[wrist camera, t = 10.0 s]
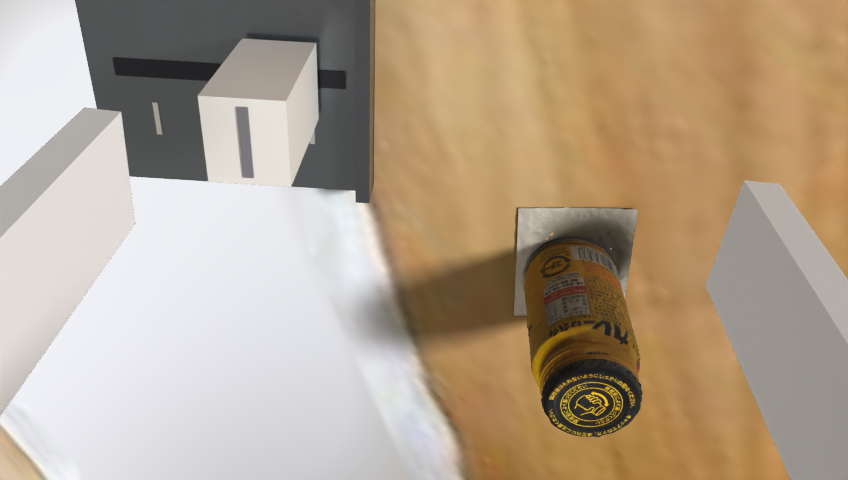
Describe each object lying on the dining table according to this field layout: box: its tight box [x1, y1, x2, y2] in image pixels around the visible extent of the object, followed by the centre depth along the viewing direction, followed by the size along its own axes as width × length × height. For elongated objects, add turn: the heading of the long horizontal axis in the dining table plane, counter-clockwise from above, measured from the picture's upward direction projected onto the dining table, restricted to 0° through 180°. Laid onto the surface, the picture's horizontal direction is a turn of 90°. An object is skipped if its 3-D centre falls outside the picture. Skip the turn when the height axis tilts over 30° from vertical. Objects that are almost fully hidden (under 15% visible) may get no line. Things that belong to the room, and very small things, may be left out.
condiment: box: [514, 207, 642, 437], centre depth 45 cm, size 7×8×12 cm
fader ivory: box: [198, 39, 319, 187], centre depth 39 cm, size 4×4×8 cm
